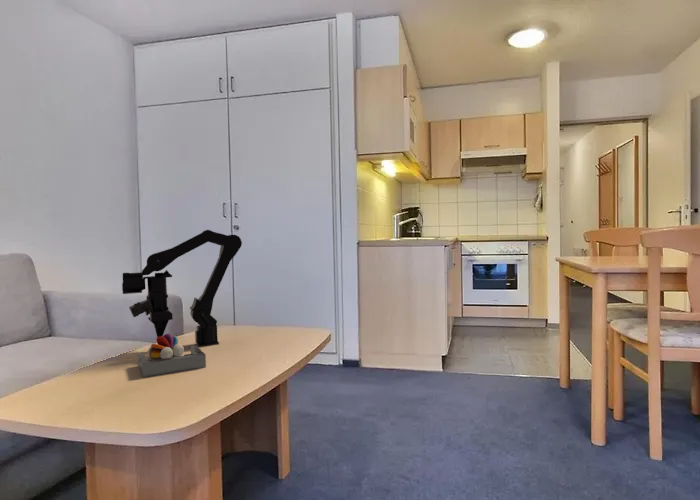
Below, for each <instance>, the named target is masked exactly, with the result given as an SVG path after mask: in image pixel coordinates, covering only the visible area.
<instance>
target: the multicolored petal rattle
mask: <svg viewBox="0 0 700 500" xmlns="http://www.w3.org/2000/svg"><path fill="white" fill-rule="evenodd" d="M184 352H185V348H184V346H183V345H182V344H181V343H179V339H178V337H177V336H172V334H171V333H164V334H163V336H159V337H157V336H156V343H152V344H151V345H150V347H149V348H148V350H147V355H148V357H149V358H150V359H152V360H153V359H159V358H163V359H165V358H171V357H178V356H183V354H184Z"/></svg>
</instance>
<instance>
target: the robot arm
mask: <svg viewBox="0 0 700 500" xmlns="http://www.w3.org/2000/svg"><path fill="white" fill-rule="evenodd" d="M207 243H211V244H215V245H217V246H220V248H219V253H218V254H219V255H218V258H217V260H216V262H215V265H214V266H213V269H212V271H211V274H210V275H209V278H208V280H207V283H206V285H205V288H204V289H203V291H202V294H201V295H200V296H199V298H197V297H194V299H193V301H192V304H191V306H190V307H189V310H190V312H189V313H190V316H191V318H192V320H193V321H194V322H195V323H197V325H196V330H194V339H195V342H194V343H195V344H197V346H198V347H204V346H210V345H211V346H212V345H219V344H220V342H219V341H218V338H219V337H218V325H217V324H218V320H217V319H216V318H215V317H214V316H212V314H211V313H212V310H213V305H214V304H213V303H214V298H215V296H216V294H217V292H218V290H219V287H220V285H221V282H222V280H223V279H224V275H225V273H226V271H227V269H228V267H229V264H230V262H231V261H232V259H234V257H235V256H236V255H237V253H238V252H239V250H240V249H241V248H242V245H243V242H242V238H241V237H240V236H238V235H237V234H228V235H227V234H224V233H220V232H216V231H213V230H211V229H206V230H203V231H202V232H200V233H198V234H197V235H194V236H192V237H191V238H188V239H187V240H185V241H183V242H181V243H178V244H177V245H175V246H173V247H171V248H168V249H164V250H161V251H157V252H154V253H152V254H150V255H149V256H148V257H147V259H146V266H145V267H144V268H143V269H142V271H141V272H123V273H122V284H121V289H122V295H127V294H128V295H129V294H142V293H143V292H142V291H144V290H146V282H147V295H146V299H144V300H143V301H137V302H136V303H134V304H133V305H131V306H129V307H128V308H129V310H130V313H131V315H132V317H133V318H136V317H138V316H139V315H142V314H144V313H145V316H149V317H147V319H148V320H149V322H150V323H152V324H153V327H154V331H155V334H156V338H157V337H159V336H162V337H163V336H164V335H165V331H166V328H167V326H168V323H169V321H171V320H173V313H172V312H171V311H170V310H169V306H168V298H169V294H168V288H167V287H168V286H167V278H172V277H173V274H171V273H170V272H169V271H168V270H167V269H166V270H165V271H163V272H161V271H162V270H164V269H165V268H167V267H168V266H169V265H170V264H171V263H173V262H174V261H175V260H177V259H178V258H180V257H182V256H184V255H186V254H187V253H189V252H191V251H193V250H195V249H198V248H199V247H200V246H203V245H204V244H207ZM152 273H154V275H152V276H150V274H152ZM146 280H147V281H146Z"/></svg>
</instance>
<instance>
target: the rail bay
mask: <svg viewBox="0 0 700 500" xmlns="http://www.w3.org/2000/svg"><path fill="white" fill-rule="evenodd" d="M206 359H207V358H206V353H205V352H203V351H202V350H201V349H200V348H199V346H198V345H190V353H187V354H184V355H181V356H178V357H174V356H172V357H171V358H165V359H163V358H161V357H160V358H155V359H152V360H148V358H147V357H146V355H145V353H144V352H141V353H137V360H138V361H137V365H138V368H139V371H140V373H141V375H142V378H148V377H153V376H159V375H165V374H172V373H177V372H184V371H190V370H195V369H201V368H202V369H203V368H206V367H207V360H206Z"/></svg>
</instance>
